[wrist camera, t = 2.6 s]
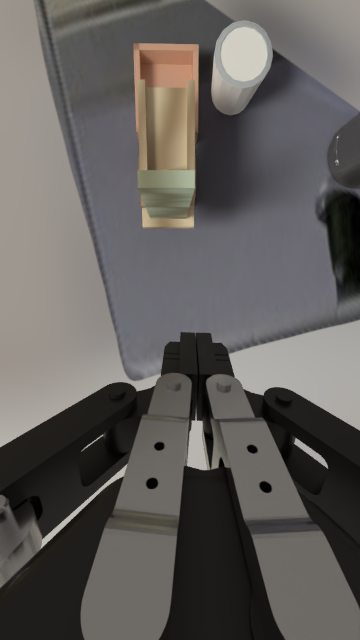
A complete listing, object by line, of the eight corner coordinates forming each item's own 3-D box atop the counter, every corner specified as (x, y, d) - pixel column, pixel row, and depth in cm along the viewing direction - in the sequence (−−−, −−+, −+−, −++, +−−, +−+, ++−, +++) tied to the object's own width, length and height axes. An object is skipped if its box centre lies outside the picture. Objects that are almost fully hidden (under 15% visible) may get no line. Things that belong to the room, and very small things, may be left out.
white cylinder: (232, 53, 38) (245, 4, 31) (265, 93, 39) (285, 54, 32) (196, 92, 38) (202, 53, 31) (230, 131, 39) (242, 101, 32)
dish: (196, 62, 38) (198, 44, 35) (196, 143, 39) (198, 133, 36) (136, 61, 37) (133, 43, 34) (139, 143, 39) (136, 132, 36)
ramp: (193, 93, 31) (208, -34, 18) (193, 228, 33) (206, 200, 20) (139, 93, 31) (116, -36, 18) (143, 228, 33) (126, 200, 20)
